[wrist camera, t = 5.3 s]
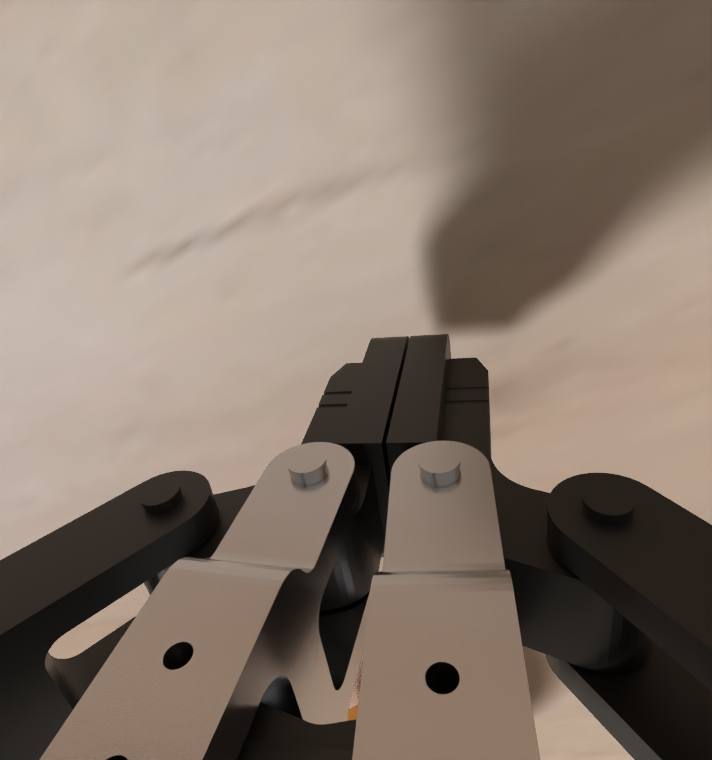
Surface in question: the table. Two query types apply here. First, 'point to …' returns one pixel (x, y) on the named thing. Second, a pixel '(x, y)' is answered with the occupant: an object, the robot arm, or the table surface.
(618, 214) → the table surface
